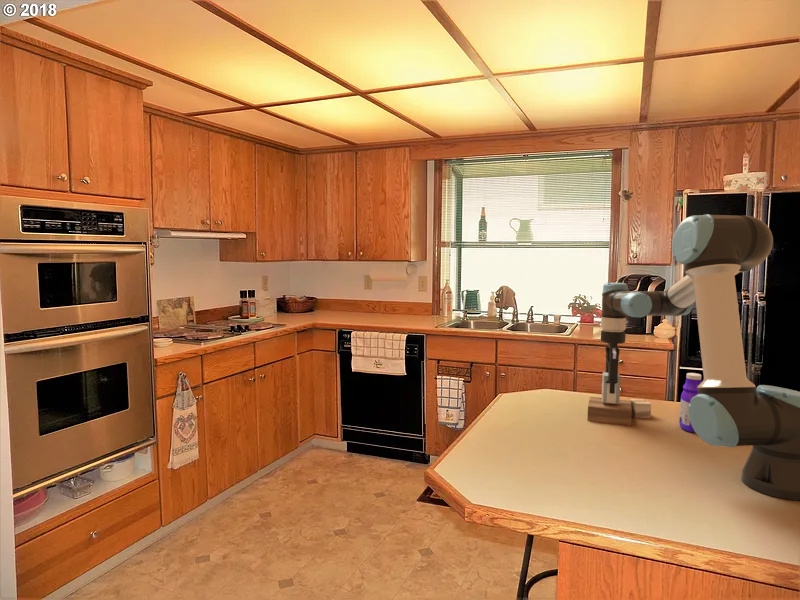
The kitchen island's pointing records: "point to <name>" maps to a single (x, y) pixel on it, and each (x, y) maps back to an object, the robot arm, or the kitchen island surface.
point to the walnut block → (609, 411)
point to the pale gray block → (604, 388)
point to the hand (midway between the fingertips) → (610, 400)
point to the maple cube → (640, 408)
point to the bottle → (688, 399)
